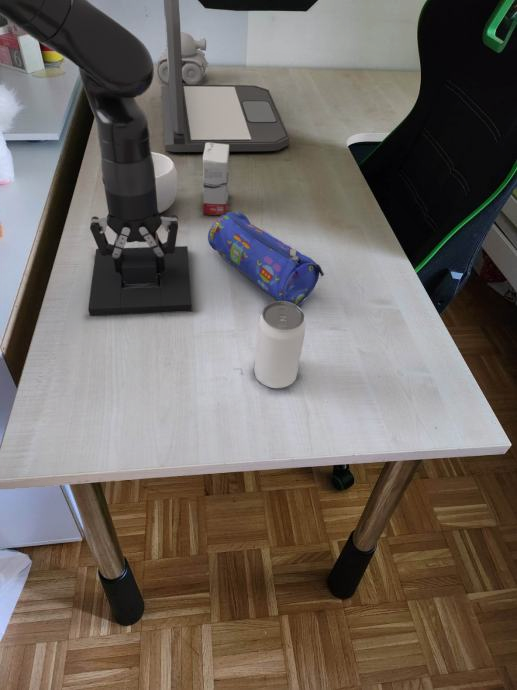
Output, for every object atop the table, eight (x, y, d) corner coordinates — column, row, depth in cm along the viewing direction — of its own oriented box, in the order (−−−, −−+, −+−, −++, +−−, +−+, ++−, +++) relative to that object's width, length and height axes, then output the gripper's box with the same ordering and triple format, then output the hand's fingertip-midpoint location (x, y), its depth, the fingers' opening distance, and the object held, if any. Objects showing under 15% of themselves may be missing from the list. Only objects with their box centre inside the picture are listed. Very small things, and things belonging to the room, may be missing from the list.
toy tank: (209, 75, 163) (209, 29, 154) (206, 88, 156) (205, 40, 146) (162, 72, 163) (159, 25, 153) (156, 84, 155) (152, 35, 146)
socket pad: (89, 315, 84) (88, 309, 83) (97, 255, 95) (96, 248, 94) (191, 311, 86) (191, 304, 85) (187, 252, 97) (187, 246, 96)
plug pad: (124, 284, 87) (121, 268, 84) (125, 264, 91) (123, 248, 88) (157, 283, 88) (155, 267, 85) (157, 264, 91) (155, 247, 89)
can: (252, 388, 75) (258, 329, 67) (255, 356, 80) (260, 296, 71) (297, 391, 75) (308, 333, 67) (296, 359, 80) (307, 300, 71)
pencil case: (320, 299, 90) (329, 255, 83) (285, 320, 86) (291, 274, 79) (239, 241, 101) (241, 197, 94) (204, 256, 97) (204, 211, 90)
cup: (190, 214, 107) (188, 170, 100) (136, 231, 101) (131, 186, 94) (160, 188, 113) (156, 145, 106) (108, 203, 107) (101, 159, 100)
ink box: (226, 216, 107) (227, 162, 98) (202, 215, 107) (202, 161, 98) (228, 195, 113) (230, 142, 104) (206, 193, 113) (205, 141, 104)
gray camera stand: (290, 154, 128) (307, 7, 106) (165, 155, 124) (154, 2, 101) (265, 95, 155) (274, -33, 132) (161, 94, 150) (152, -39, 127)
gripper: (177, 169, 80) (182, 257, 92) (82, 169, 78) (99, 260, 90) (179, 193, 75) (183, 284, 87) (77, 194, 73) (96, 287, 85)
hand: (140, 271), depth 89 cm, fingers closed on plug pad, 5 cm apart
